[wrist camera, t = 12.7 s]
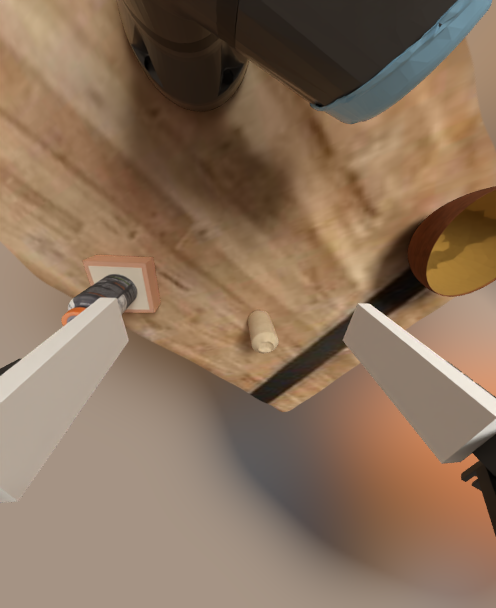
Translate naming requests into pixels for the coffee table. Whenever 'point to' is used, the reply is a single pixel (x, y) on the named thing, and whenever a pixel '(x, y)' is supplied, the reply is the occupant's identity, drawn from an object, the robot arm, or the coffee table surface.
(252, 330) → the candle
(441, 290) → the bowl
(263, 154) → the coffee table surface
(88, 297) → the pill bottle
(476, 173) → the coffee table surface
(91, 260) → the riser
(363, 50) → the robot arm
